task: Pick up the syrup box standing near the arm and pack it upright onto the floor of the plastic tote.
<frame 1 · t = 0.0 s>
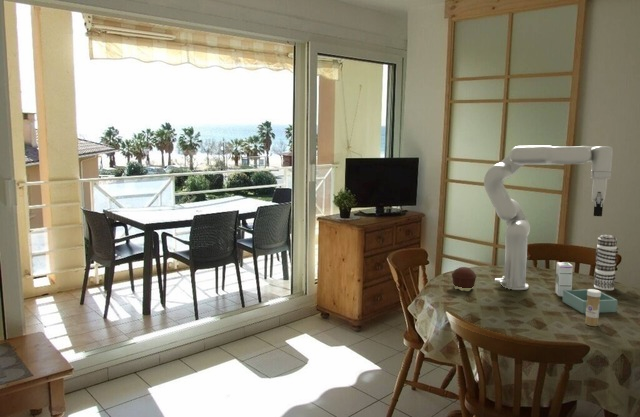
hand: (597, 214, 218), 37 cm above the table, tool pointing down, fingers open, 9 cm apart
tote: (588, 306, 211), on the table
syrup box: (562, 295, 227), on the table
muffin: (463, 289, 237), on the table
sprinkles bottle: (591, 324, 192), on the table
decorative candle: (603, 287, 237), on the table
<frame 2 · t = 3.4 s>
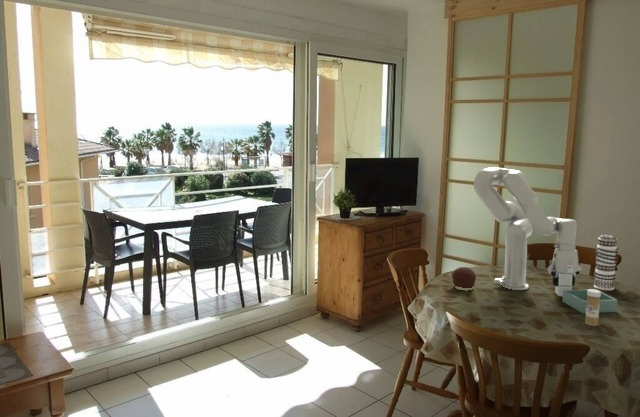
hand: (563, 284, 226), 5 cm above the table, tool pointing down, fingers closed on syrup box, 6 cm apart
syrup box: (562, 295, 227), on the table, touching gripper
everything else where it was.
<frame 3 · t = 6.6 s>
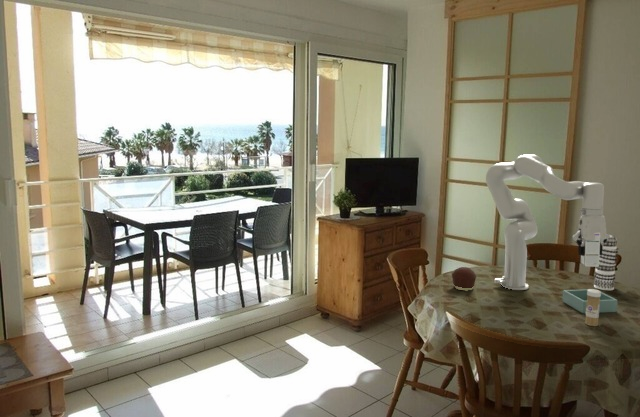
hand: (590, 254, 209), 22 cm above the table, tool pointing down, fingers closed on syrup box, 6 cm apart
syrup box: (589, 265, 210), point 17 cm above the table, touching gripper
everything else where it was.
when the fingers open (7 cm above the table, at t = 10.1 s): syrup box drops 1 cm, resting on tote.
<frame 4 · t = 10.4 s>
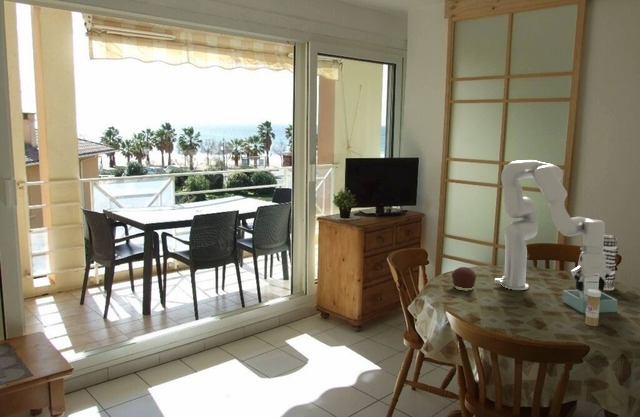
hand: (589, 289, 210), 7 cm above the table, tool pointing down, fingers open, 9 cm apart
syrup box: (587, 304, 211), point 1 cm above the table, touching tote
everything else where it was.
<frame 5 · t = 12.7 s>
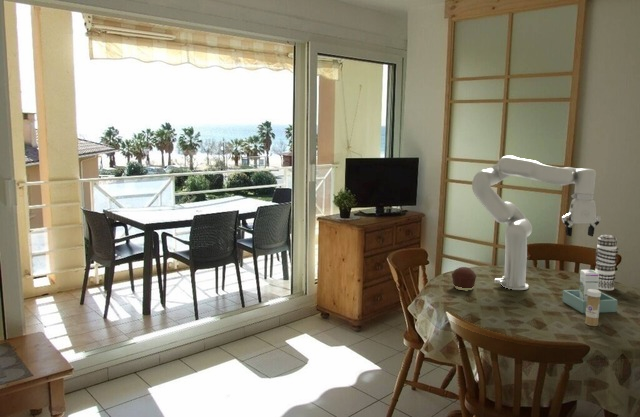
hand: (579, 235, 220), 28 cm above the table, tool pointing down, fingers open, 9 cm apart
nothing on the table moved.
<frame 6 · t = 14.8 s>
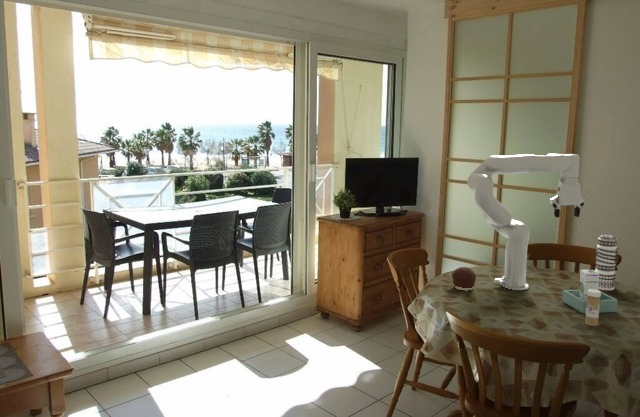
hand: (566, 216, 236), 33 cm above the table, tool pointing down, fingers open, 9 cm apart
nothing on the table moved.
at the end: syrup box inside the target area on the tote (0.4 cm from its centre), point 0.6 cm above the tote's base; syrup box tilted 0°; the gripper is holding nothing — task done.
